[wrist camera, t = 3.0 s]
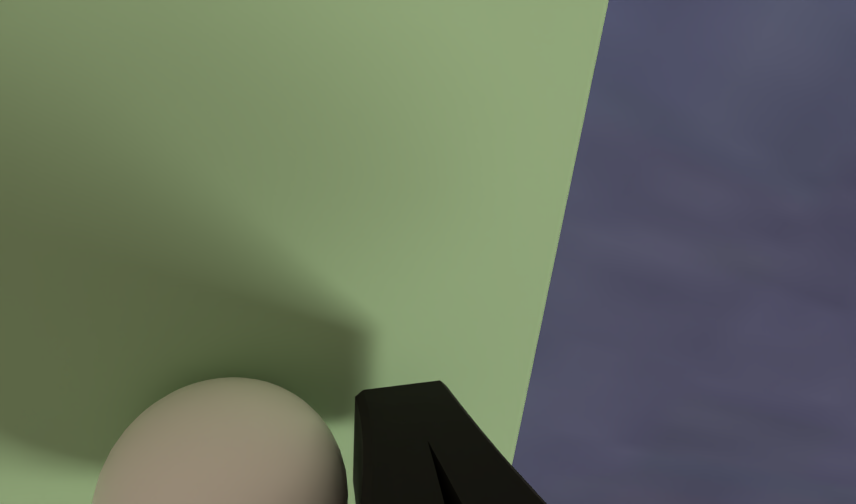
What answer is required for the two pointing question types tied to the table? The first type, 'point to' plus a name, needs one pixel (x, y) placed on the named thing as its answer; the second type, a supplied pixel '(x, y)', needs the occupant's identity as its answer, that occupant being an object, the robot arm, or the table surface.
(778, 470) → the table surface
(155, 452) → the ball
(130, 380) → the putting mat
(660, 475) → the table surface
